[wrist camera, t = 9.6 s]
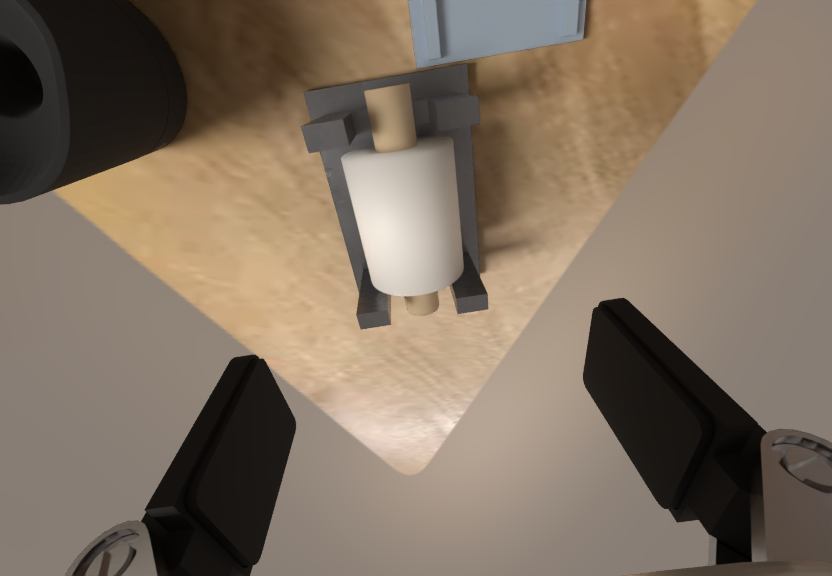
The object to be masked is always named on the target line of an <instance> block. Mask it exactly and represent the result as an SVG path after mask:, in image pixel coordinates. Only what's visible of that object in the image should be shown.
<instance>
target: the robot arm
mask: <svg viewBox="0 0 832 576" xmlns="http://www.w3.org/2000/svg"><path fill="white" fill-rule="evenodd" d="M583 381H584V384H585V387H586V389H587V390H588V392H589V393H590V395H591V397H592V398H593V400H594V402H595V403H596V405H597V406H598V408H599V409H600V411H601V413H602V414H603V416H604V418H605V419H606V421H607V422H608V424H609V426H610V427H611V429H612V430H613V432H614V434H615V435H616V437H617V438H618V440H619V442H620V443H621V445H622V446H623V448H624V450H625V451H626V453H627V455H628V456H629V458H630V459H631V461H632V462H633V464H634V465H635V467H636V469H637V470H638V472H639V474H640V475H641V477H642V478H643V480H644V482H645V483H646V485H647V487H648V488H649V490H650V491H651V493H652V495H653V496H654V497H655V499H656V501H657V502H658V504H659V505H660V506H661V507H663V508H664V509H669V511H670V512H671V514H672V515H673V517H674V518H675V520H676V522H685V521H692V520H699V521H700V522H701V523H702V525H703V526H704V528H705V529H706V531H707V532H708V534H709V552H708V566H704V567H694V568H685V569H675V570H665V571H656V572H649V573H640V574H632V575H625V576H832V443H831V442H829V441H827V440H825V439H823V438H820V437H817V436H815V435H813V434H810V433H806V432H802V431H798V430H793V429H792V430H791V429H777V430H773V431H769V432H768V433H767V432H766V431H765V430H764V429H763V428H762V427H761V426H759V425H758V423H757V422H756V421H755V420H754V419H753V418H752V417H751V416H750V415H749V414H748V413H747V412H746V411H745V410H744V409H743V408H742V407H740V406H739V405H738V404H737V403H736V402H735V401H734V400H733V399H732V398H731V397H730V396H729V395H728V394H727V393H726V392H724V391H723V390H722V389H721V388H720V387H719V386H718V385H717V384H716V383H715V382H714V381H713V380H712V379H710V377H709V376H708V375H706V374H705V373H704V372H703V371H702V370H701V369H700V368H699V367H698V366H697V365H696V364H695V363H694V362H693V361H692V360H691V359H690V358H688V357H687V356H686V355H685V354H684V353H683V352H682V351H681V350H680V349H679V348H678V347H677V346H676V345H675V344H674V343H672V342H671V341H670V340H669V339H668V338H667V337H666V336H665V335H664V334H663V333H662V332H661V331H660V330H659V329H658V328H657V327H656V326H655V325H653V324H652V323H651V322H650V321H649V320H648V319H647V318H646V317H645V316H644V315H643V314H642V313H641V312H640V311H638V309H636V308H635V307H634V306H633V305H632V304H631V303H630V302H629V301H628V300H626V299H625V298H618V299H612V300H606V301H601V302H600V303H599V305H598V307H596V308H594V309H593V313H592V319H591V326H590V332H589V340H588V346H587V352H586V359H585V366H584V372H583ZM295 430H296V421H295V418H294V416H293V414H292V412H291V410H290V408H289V406H288V404H287V402H286V400H285V398H284V396H283V394H282V393H281V391H280V389H279V387H278V385H277V383H276V381H275V379H274V377H273V375H272V373H271V371H270V369H269V367H268V365H267V363H266V362H265V360H264V359H259V357H258V356H256V355H247V356H241V357H235V358H233V359H232V360H231V361H230V362H229V364H228V366H227V368H226V369H225V371H224V373H223V375H222V376H221V378H220V380H219V382H218V383H217V385H216V387H215V389H214V390H213V392H212V394H211V395H210V397H209V399H208V401H207V402H206V404H205V406H204V408H203V409H202V411H201V413H200V414H199V416H198V418H197V420H196V421H195V423H194V425H193V427H192V428H191V430H190V432H189V434H188V435H187V437H186V439H185V441H184V442H183V444H182V446H181V447H180V449H179V451H178V453H177V454H176V456H175V458H174V460H173V461H172V463H171V465H170V467H169V468H168V470H167V472H166V474H165V475H164V477H163V479H162V480H161V482H160V484H159V486H158V487H157V489H156V491H155V493H154V494H153V496H152V498H151V500H150V501H149V503H148V505H147V507H146V508H145V511H146V514H145V515H144V517H143V519H142V521H141V522H140V521H126V522H123V523H121V524H118V525H115V526H114V527H112V528H110V529H109V530H107V531H105V532H104V533H102V534H101V535H100V536H98V537H97V538H96V539H95V540H93V541H92V542H91V543H90V544H89V545H88V546H87V547H86V548H85V549H84V550H83V551H82V552H81V553H80V554H79V555H78V556H77V558H76V559H75V560H74V562H73V563H72V565H71V566H70V567H69V569H68V570H67V572H66V574H65V576H250V573H251V570H252V567H253V565H255V564H257V562H258V561H259V559H260V557H261V554H262V550H263V547H264V543H265V539H266V536H267V532H268V529H269V525H270V521H271V518H272V514H273V511H274V507H275V503H276V500H277V496H278V492H279V489H280V485H281V482H282V478H283V474H284V471H285V467H286V464H287V460H288V456H289V453H290V449H291V445H292V442H293V438H294V435H295Z"/></svg>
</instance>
